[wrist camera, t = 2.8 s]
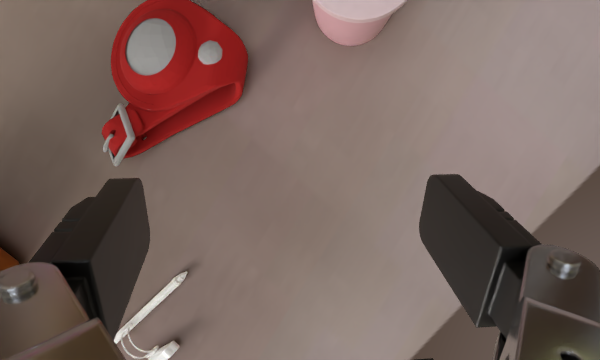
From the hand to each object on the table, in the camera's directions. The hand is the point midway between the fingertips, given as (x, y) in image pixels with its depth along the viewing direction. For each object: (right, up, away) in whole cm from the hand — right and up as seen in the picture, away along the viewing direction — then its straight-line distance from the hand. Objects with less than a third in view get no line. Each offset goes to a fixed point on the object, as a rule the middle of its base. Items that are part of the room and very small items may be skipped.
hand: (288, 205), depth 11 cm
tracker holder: (-10, +8, +19) cm, 22 cm away
